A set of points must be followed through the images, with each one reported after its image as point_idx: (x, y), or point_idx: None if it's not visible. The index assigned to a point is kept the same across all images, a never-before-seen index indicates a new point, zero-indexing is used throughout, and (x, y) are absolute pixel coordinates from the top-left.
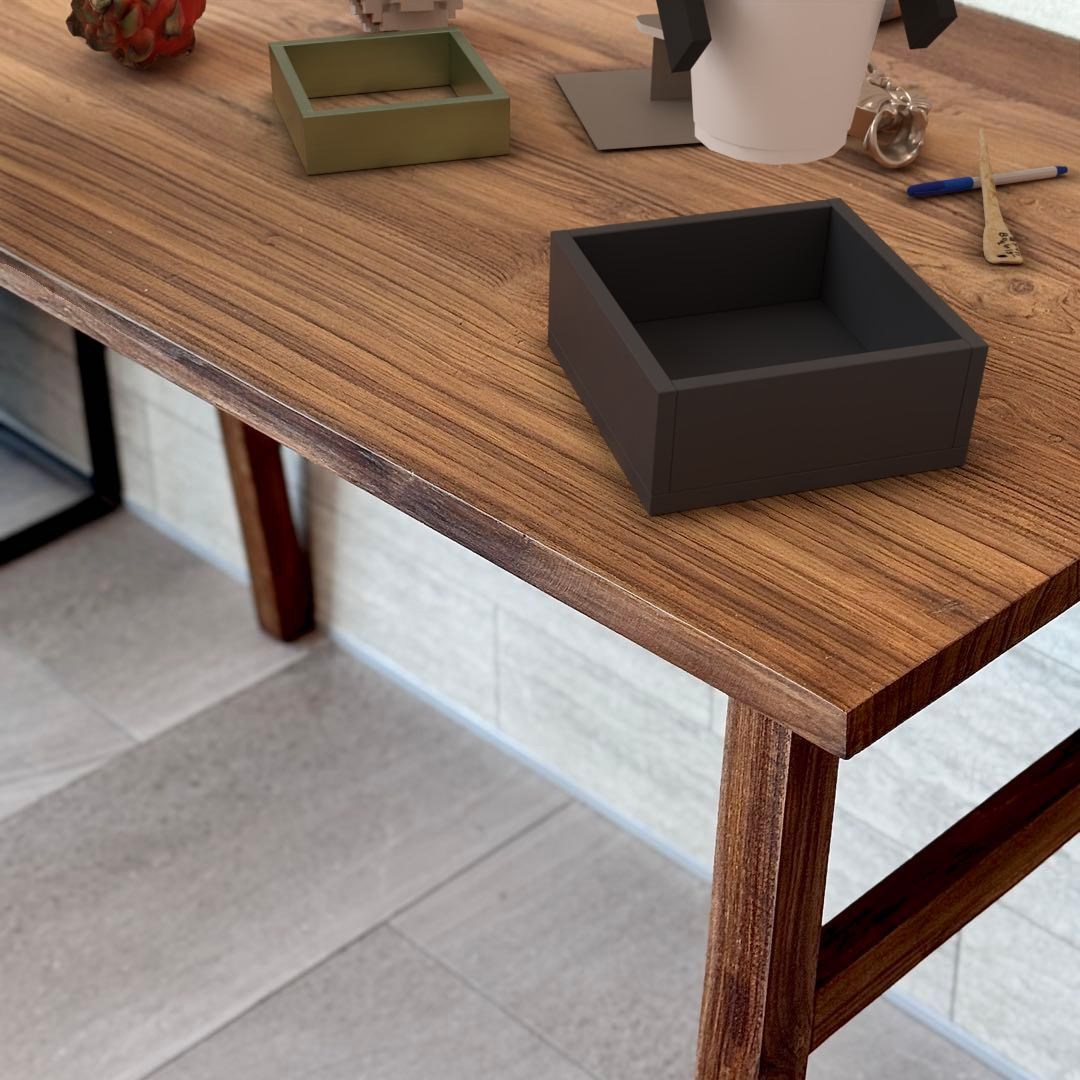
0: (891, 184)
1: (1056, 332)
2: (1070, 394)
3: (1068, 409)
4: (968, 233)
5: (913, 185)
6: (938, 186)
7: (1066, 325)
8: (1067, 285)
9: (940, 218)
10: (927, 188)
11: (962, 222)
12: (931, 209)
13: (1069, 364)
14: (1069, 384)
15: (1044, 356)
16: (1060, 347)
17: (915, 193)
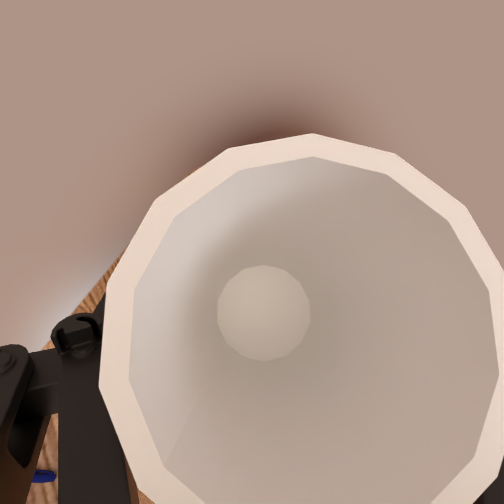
0: (53, 498)
1: (84, 308)
2: (116, 260)
3: (125, 250)
4: (53, 420)
5: (49, 480)
6: (34, 475)
7: (75, 312)
8: (45, 348)
9: (56, 443)
10: (42, 475)
11: (47, 434)
12: (53, 456)
13: (98, 281)
14: (110, 267)
15: (104, 291)
16: (92, 296)
17: (53, 472)
